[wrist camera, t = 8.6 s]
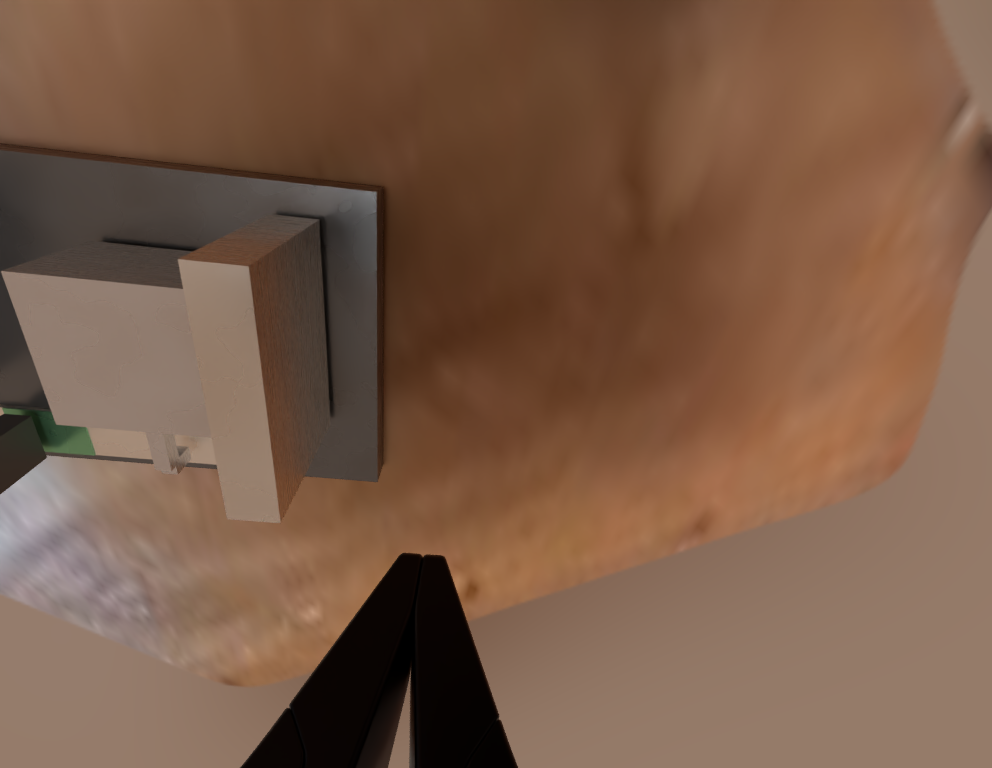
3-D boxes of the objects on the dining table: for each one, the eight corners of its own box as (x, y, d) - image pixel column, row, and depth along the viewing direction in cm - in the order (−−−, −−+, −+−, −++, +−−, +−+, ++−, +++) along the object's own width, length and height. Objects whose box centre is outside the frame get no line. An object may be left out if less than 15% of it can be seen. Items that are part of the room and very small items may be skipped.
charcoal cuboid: (31, 415, 20) (-24, 452, 18) (46, 457, 21) (-4, 496, 19) (3, 413, 20) (-54, 450, 18) (21, 455, 21) (-32, 494, 19)
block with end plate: (319, 219, 17) (248, 266, 12) (332, 462, 21) (286, 566, 17) (77, 193, 16) (-99, 230, 11) (144, 446, 21) (41, 549, 16)
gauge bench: (383, 186, 18) (321, 232, 11) (382, 465, 23) (341, 598, 17) (-240, 116, 17) (-693, 124, 10) (-82, 426, 22) (-309, 554, 16)
